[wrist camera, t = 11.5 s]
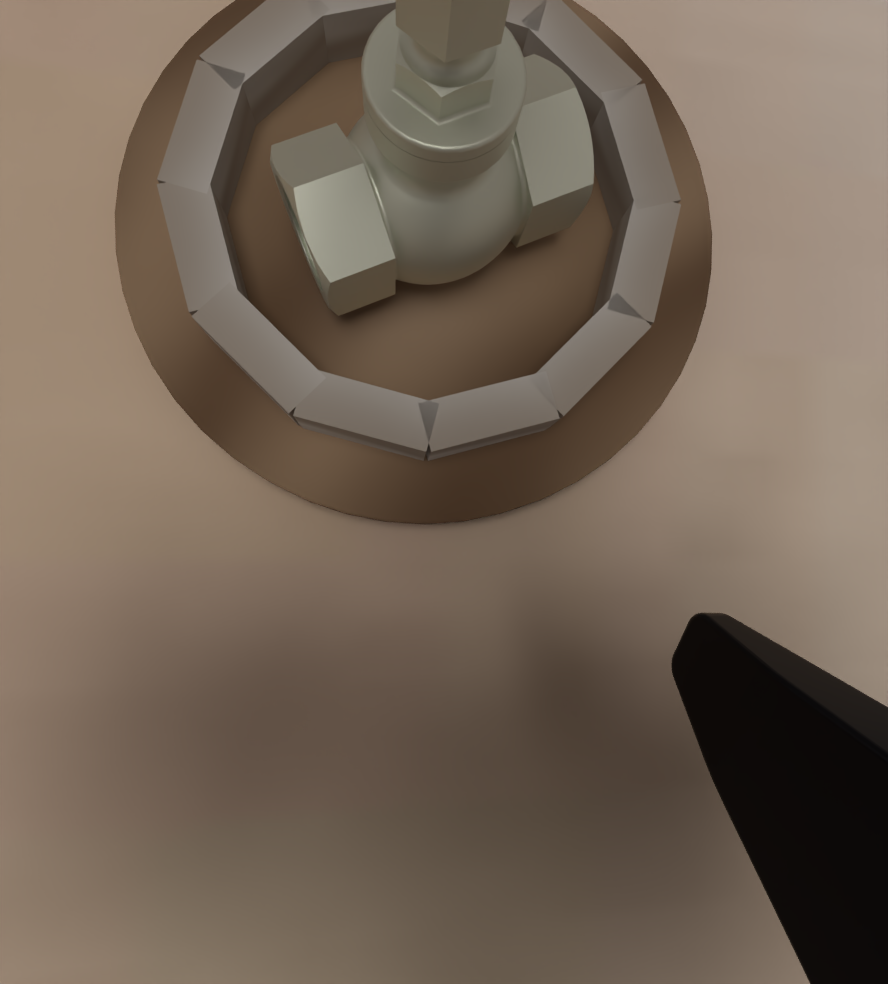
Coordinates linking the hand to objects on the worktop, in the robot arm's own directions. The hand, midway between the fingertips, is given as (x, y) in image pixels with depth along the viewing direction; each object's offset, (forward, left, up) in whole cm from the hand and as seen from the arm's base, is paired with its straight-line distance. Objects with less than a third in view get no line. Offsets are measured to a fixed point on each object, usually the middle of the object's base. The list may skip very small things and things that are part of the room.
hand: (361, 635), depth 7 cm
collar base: (+6, -8, -9) cm, 13 cm away
